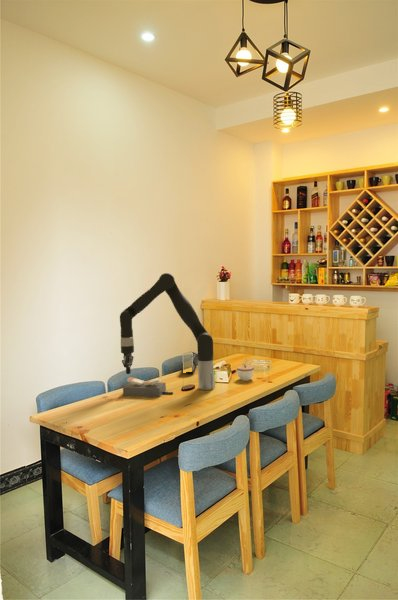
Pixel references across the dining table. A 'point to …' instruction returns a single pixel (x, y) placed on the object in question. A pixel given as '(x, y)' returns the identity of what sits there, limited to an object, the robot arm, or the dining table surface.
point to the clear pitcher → (194, 361)
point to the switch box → (145, 390)
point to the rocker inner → (152, 381)
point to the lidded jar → (245, 372)
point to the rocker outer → (135, 381)
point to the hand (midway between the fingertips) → (128, 373)
